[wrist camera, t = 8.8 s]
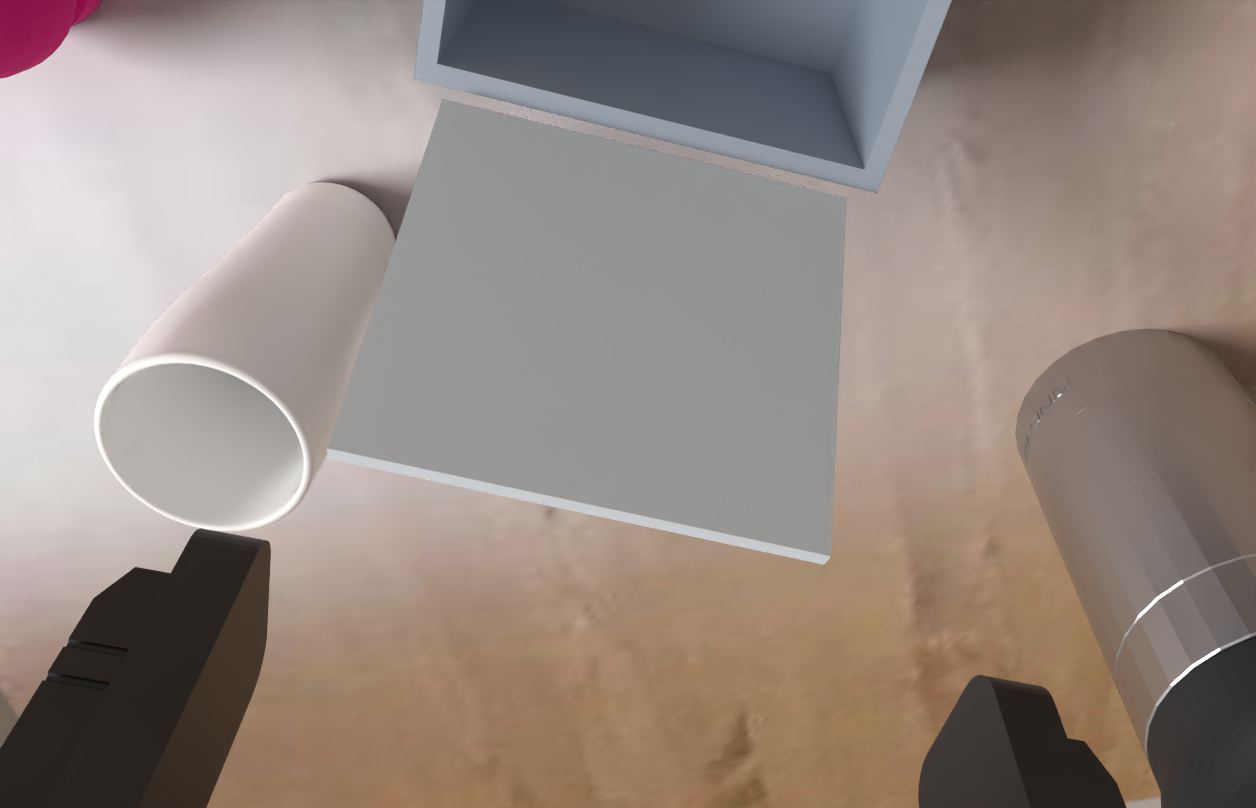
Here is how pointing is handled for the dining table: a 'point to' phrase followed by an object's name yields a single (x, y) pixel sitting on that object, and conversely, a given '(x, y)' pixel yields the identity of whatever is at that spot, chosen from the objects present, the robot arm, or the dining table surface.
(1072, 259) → the dining table surface
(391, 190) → the dining table surface
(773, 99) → the carton
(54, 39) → the pepper mill
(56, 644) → the dining table surface
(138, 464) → the drinking glass
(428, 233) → the flap
